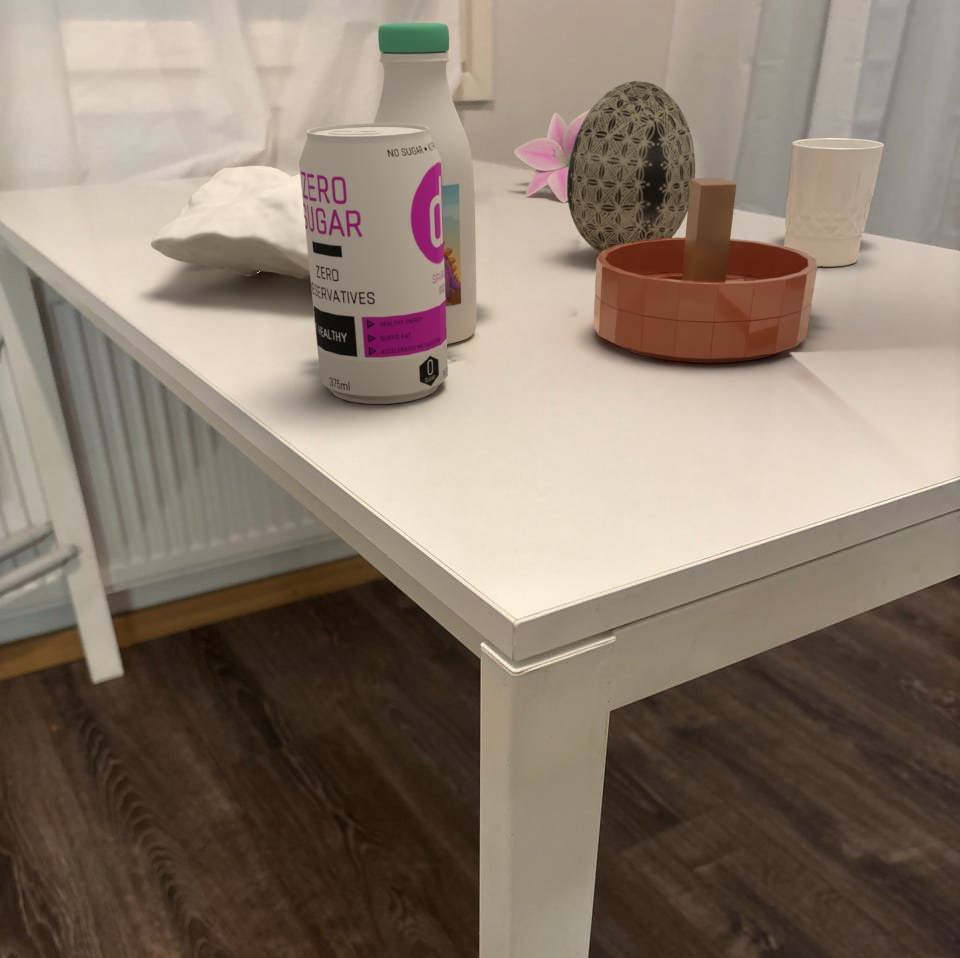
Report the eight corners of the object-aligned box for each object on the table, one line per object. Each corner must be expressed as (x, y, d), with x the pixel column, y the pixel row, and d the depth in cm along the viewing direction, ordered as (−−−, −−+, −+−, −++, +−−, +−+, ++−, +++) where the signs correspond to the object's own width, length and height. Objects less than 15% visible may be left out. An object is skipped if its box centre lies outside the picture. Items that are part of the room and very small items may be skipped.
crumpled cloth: (204, 322, 75) (204, 188, 70) (105, 238, 101) (100, 137, 96) (480, 326, 86) (495, 211, 82) (327, 250, 112) (332, 160, 107)
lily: (511, 197, 135) (493, 131, 127) (587, 155, 136) (574, 87, 128) (553, 241, 129) (537, 175, 121) (633, 196, 129) (623, 127, 121)
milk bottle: (406, 316, 81) (391, 22, 70) (493, 327, 78) (492, 21, 67) (354, 341, 75) (330, 24, 64) (447, 354, 72) (437, 24, 61)
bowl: (766, 307, 82) (775, 234, 79) (836, 363, 69) (851, 279, 66) (579, 313, 81) (582, 240, 78) (615, 371, 68) (620, 287, 65)
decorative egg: (550, 249, 102) (554, 79, 94) (661, 243, 103) (674, 75, 96) (584, 275, 92) (592, 87, 84) (706, 268, 94) (725, 83, 86)
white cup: (763, 262, 95) (779, 145, 90) (793, 248, 101) (809, 136, 95) (847, 272, 91) (868, 150, 86) (874, 256, 97) (895, 140, 92)
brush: (738, 320, 76) (755, 175, 71) (755, 335, 73) (775, 184, 67) (643, 323, 76) (654, 178, 70) (656, 339, 72) (668, 187, 67)
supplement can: (460, 370, 68) (454, 122, 61) (428, 411, 62) (416, 138, 54) (346, 364, 70) (326, 121, 62) (302, 403, 63) (273, 137, 55)
